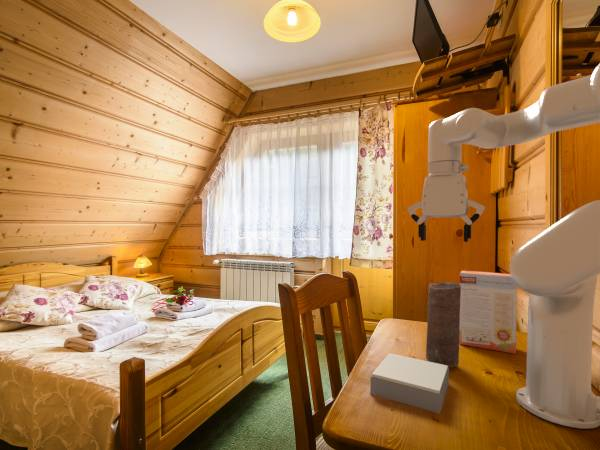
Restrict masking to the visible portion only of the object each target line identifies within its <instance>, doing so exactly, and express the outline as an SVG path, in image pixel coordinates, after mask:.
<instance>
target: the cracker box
mask: <svg viewBox="0 0 600 450" xmlns="http://www.w3.org/2000/svg"><path fill="white" fill-rule="evenodd" d="M459 284H460V286H461V296H460V326H459V345H463V346H469V347H474V348H475V347H476V348H480V349H487V350H491V351H499V352H502V353H508V354H513V355H514V354H516V353H517V312H518V311H517V302H518V301H517V300H518V298H517V297H518V295H517V294H518V293H517V292H518V289H517V288H518V285H517V284H516V283H515V282H514V280H513V278H512V276H511V273H501V272H489V271H476V270H475V271H473V270H461V271H460V272H459Z"/></svg>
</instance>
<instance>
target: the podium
mask: <svg viewBox="0 0 600 450" xmlns="http://www.w3.org/2000/svg"><path fill="white" fill-rule="evenodd" d="M449 376H450V368H449V367H448V366H447V365H442V364H438V363H433V362H429V361H428V360H423V359H420V358H413V357H409V356H405V355H400V354H395V353H390V352H389V353H388V354H387V355H386V356H385V357H384V358H383V360H382V361H381V362H380V363H379V365H377V367H376V368H375V369H374V370H373V372H372V373H371V375H370V387H369V388H370V390H369V391H370V395H374V396H376V397H377V396H378V397H379V398H380V397H381V398H384V399H387V400H391V401H394V402H399V403H402V404H404V405H408V406H412V407H416V408H417V409H418V408H419V409H422V410H426V411H428V412H433V413H436V414H439V415H440V414H441V412H442V408H443V405H444V403H445V402H444V401H445V398H446V394H447V391H448V387H449V385H450V384H449V381H450V377H449Z"/></svg>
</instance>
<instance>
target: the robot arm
mask: <svg viewBox="0 0 600 450" xmlns="http://www.w3.org/2000/svg"><path fill="white" fill-rule="evenodd" d="M597 124H600V62H599V64H598V65H596V67H595V68H594V70H593V71H592V74H590V75H586V76H583V77H579V78H576V79H573V80H572V79H571V80H567V81H566V82H562V83H558V84H554V85H551V86H549V87H547V88H545V89H544V90H543V91H542V93H541V94H540V97H539V99H538V100H537V101H536V102H534V103H533V104H532V105H529V106H528V107H526V108H523V109H520V110H517V111H514V112H509V113H505V114H501V115H495V114H492V113H491V112H488V111H486V110H483V109H481V108H477V107H470V108H466V109H464V110H461V111H459V112H457V113H455V114H453V115H451V116H449V117H445V118H439V119H436V120H434V121H432V122H431V123H430V124H429V126H428V140H427V142H428V143H427V149H428V150H427V176H426V177H425V178H424V182H423V187H422V188H423V190H422V196H421V197H422V198H421V199H420V201H418V202H416V203H414V204H412V205H409V206H408V207H407V211H408V213H409V216H410V217H411V219H412V220H413V221H414V222H416V224H417V225H418V231H417V232H418V238H420V241H421V242H425V241H426V240H427V225H426V222H427V221H428V220H429V218H460V219H461V220H463V221H464V225H463V242H464V243H468V242H469V240H470V239H472V225H473V224H474V223H475V222H476V221H477V220H479V219H480V218H481V216H482V214H483V212H484V210H485V208H486V207H485V206H484V205H482V204H480V203H479V202H476V201H474V200H472V199H469V198H468V195H469V193H468V184H467V179H466V176H465V175H464V174H463V173H464V172H465V171H469V164H465V163H464V164H463V163H462V161H463V159H462V157H463V154H462V152H463V151H462V150H463V149H462V148H463V145H462V144H464V145H470V146H475V147H478V148H481V149H487V150H488V149H499V148H503V147H509V146H515V145H519V144H524V143H529V142H530V141H534V140H537V139H539V138H543V137H546V136H549V135H550V134H552V133H555V132H561V131H565V130H566V131H567V130H572V129H576V128H580V127H585V126H590V125H597ZM469 207H471V208H474V209H476V211H475V213H474V214H473V215H471V217H469V216H468V214H469ZM419 208H421V214H422V215H421V216H420V217H419V215H417V213H416V210H419ZM509 274H511V276H512V278H513V280H514V282H515V283H516V284H517V287H519V288H520V289H521V290H523V291H524V292H526V293H527V294H529V298H528V307H527V332H526V333H527V334H526V335H527V336H526V339H527V340H526V372H525V373H526V376H525V378H526V379H525V381H526V382H525V384H526V385H525V386H523V387H521V388H519V389H518V390H516V394H515V395H516V401H517V403H518V404H519V405H520V406H522V408H523V409H525V410H527V411H528V412H529V413H531V414H533V415H534V416H536V417H538V418H541V419H544V420H545V421H548V422H551V423H554V424H557V425H561V426H564V427H569V428H575V429H584V430H585V429H594V428H595V429H596V428H598V427H600V396H597V395H596V394H595V393H594V392H593V391H592V363H593V361H592V359H593V358H592V357H593V356H592V355H593V354H592V353H593V332H594V330H593V327H594V325H593V324H594V307H595V306H594V305H595V297H596V296H595V295H596V290H597V284H598V283H597V282H598V275H600V199H597V200H594V201H591V202H589V203H586V204H584V205H583V204H582V205H581V206H580V207H578V208H576V209H574V210H573V211H570V213H568V214H567V215H565V216H564V217H562V218H561V219H559V220H558V221H556V222H555V223H553V224H552V225H550V226H549V227H547V228H546V229H544V230H543V231H541V232H539V233H538V234H537V235H535V236H534V237H533V238H530V239H529V240H528V241H527V242H525V243H524V244H522V245H521V246H520V247H518V249H516V251H515V252H514V253H513V255H512V257H511V259H510V263H509Z"/></svg>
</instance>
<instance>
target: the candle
mask: <svg viewBox="0 0 600 450" xmlns="http://www.w3.org/2000/svg"><path fill="white" fill-rule="evenodd" d="M460 296H461V286H460V283H456V282H438V283H436V282H431V283H429V285H428V298H427V299H428V301H427V322H426V324H427V325H426V327H427V328H426V345H425V346H426V347H425V348H426V349H425V359H426V361H428V362H433V363H438V364H442V365H447V366H448V368H449V369H450V368H454V367H458V365H459V362H460V361H459V358H460V357H459V356H460V344H459V326H460Z"/></svg>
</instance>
